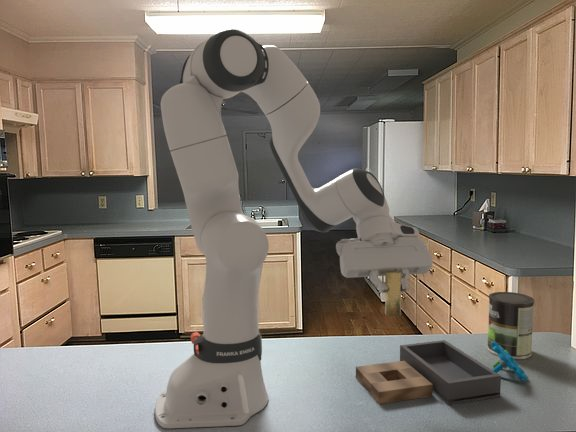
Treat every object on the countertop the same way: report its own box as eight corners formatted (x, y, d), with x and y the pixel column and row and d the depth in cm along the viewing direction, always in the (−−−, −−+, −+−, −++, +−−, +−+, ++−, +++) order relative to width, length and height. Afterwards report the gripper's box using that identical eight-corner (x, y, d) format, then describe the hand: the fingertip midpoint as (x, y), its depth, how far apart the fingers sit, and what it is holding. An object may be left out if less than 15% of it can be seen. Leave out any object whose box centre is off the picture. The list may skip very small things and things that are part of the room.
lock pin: (389, 317, 94) (389, 274, 93) (382, 312, 97) (382, 271, 96) (403, 315, 95) (403, 273, 94) (396, 311, 98) (396, 270, 97)
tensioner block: (378, 403, 90) (378, 392, 90) (355, 377, 102) (355, 366, 102) (432, 395, 93) (432, 384, 93) (404, 370, 105) (404, 360, 104)
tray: (448, 404, 89) (448, 383, 89) (399, 363, 109) (400, 345, 108) (500, 396, 92) (500, 375, 92) (444, 357, 112) (444, 340, 111)
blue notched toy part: (532, 383, 94) (496, 344, 97) (509, 399, 96) (474, 361, 99) (527, 368, 105) (494, 334, 107) (507, 383, 106) (475, 349, 109)
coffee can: (494, 358, 110) (496, 302, 109) (482, 342, 121) (483, 291, 119) (539, 360, 109) (541, 303, 108) (523, 344, 119) (525, 292, 118)
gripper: (336, 231, 99) (349, 285, 91) (424, 227, 102) (444, 280, 94) (331, 247, 104) (343, 301, 95) (415, 244, 107) (434, 295, 99)
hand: (394, 290), depth 95 cm, fingers closed on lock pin, 3 cm apart
